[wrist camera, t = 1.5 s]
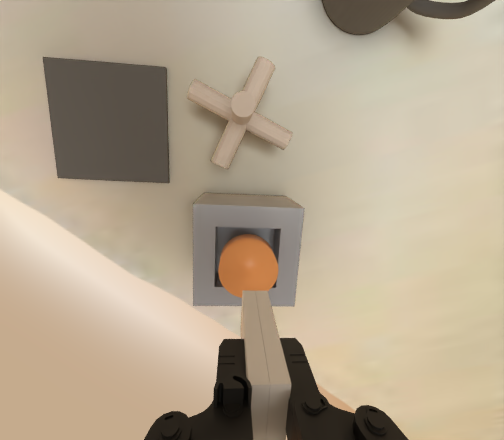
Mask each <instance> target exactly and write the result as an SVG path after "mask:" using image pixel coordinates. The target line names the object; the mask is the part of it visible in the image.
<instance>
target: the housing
mask: <svg viewBox="0 0 504 440" xmlns="http://www.w3.org/2000/svg"><path fill="white" fill-rule="evenodd" d="M303 217H304V208H303V207H302V206H300V205H299V204H297V203H296V202H294V201H293V200H291V199H290V198H288V197H287V196H269V195H245V194H222V193H203V194H202V195H201V196H200V197H199V198H198V199H197V200H196V201H195V202H194V203H193V306H242V298H240V297H237V296H234V295H232V294H231V293H229V292H228V291H227V290H226V289H225V288H224V287H223V285H222V283H221V281H220V279H219V272H218V270H219V262H220V256H221V252H222V249H223V248H224V246H225V245H226V243H227V242H228V241H229V240H231V239H232V238H234V237H236V236H238V235H242V234H253V235H257V236H259V237H261V238H263V239H264V240H265V241H267V242H268V244H269V245H270V247H271V248H272V251H273V253H274V255H275V258H276V260H277V263H278V277H277V280H276V282H275V284H274V285H273V286H272V288H271V289H270V290H269V291H268V295H269V299H270V303H271V306H294V305H295V295H296V285H297V275H298V266H299V256H300V246H301V236H302V226H303Z"/></svg>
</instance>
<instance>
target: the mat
mask: <svg viewBox="0 0 504 440" xmlns="http://www.w3.org/2000/svg"><path fill="white" fill-rule="evenodd" d="M43 63H44V71H45V79H46V87H47V95H48V103H49V111H50V119H51V127H52V136H53V144H54V152H55V160H56V168H57V176H58V178H68V179H90V180H112V181H134V182H156V183H169V149H168V106H167V69H166V67H158V66H146V65H134V64H122V63H110V62H98V61H85V60H73V59H61V58H49V57H43Z"/></svg>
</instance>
